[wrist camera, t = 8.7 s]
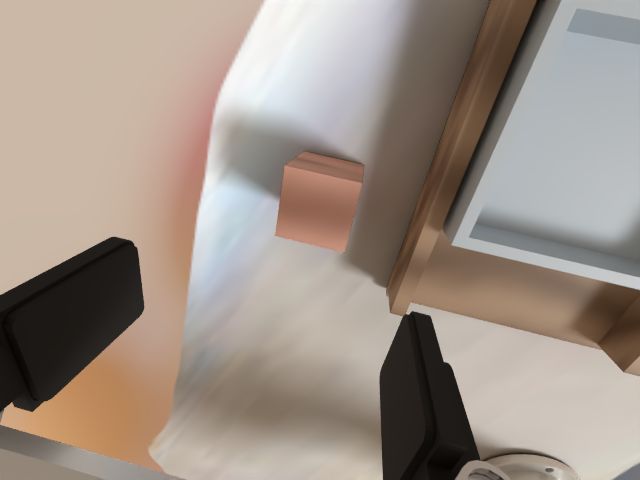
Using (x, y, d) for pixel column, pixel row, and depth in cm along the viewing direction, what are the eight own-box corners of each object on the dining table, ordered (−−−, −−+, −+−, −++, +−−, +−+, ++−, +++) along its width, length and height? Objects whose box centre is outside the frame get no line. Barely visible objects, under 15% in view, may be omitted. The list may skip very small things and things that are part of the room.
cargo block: (349, 221, 25) (344, 252, 20) (294, 208, 26) (275, 235, 20) (364, 164, 23) (362, 183, 18) (304, 151, 23) (284, 165, 18)
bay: (599, 343, 27) (645, 391, 22) (386, 289, 28) (389, 325, 23) (852, 51, 16) (1033, 32, 12) (495, -14, 17) (538, -54, 13)
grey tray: (655, 272, 22) (715, 307, 18) (438, 221, 23) (451, 245, 19) (831, 67, 16) (976, 56, 12) (524, 9, 17) (569, -18, 13)
